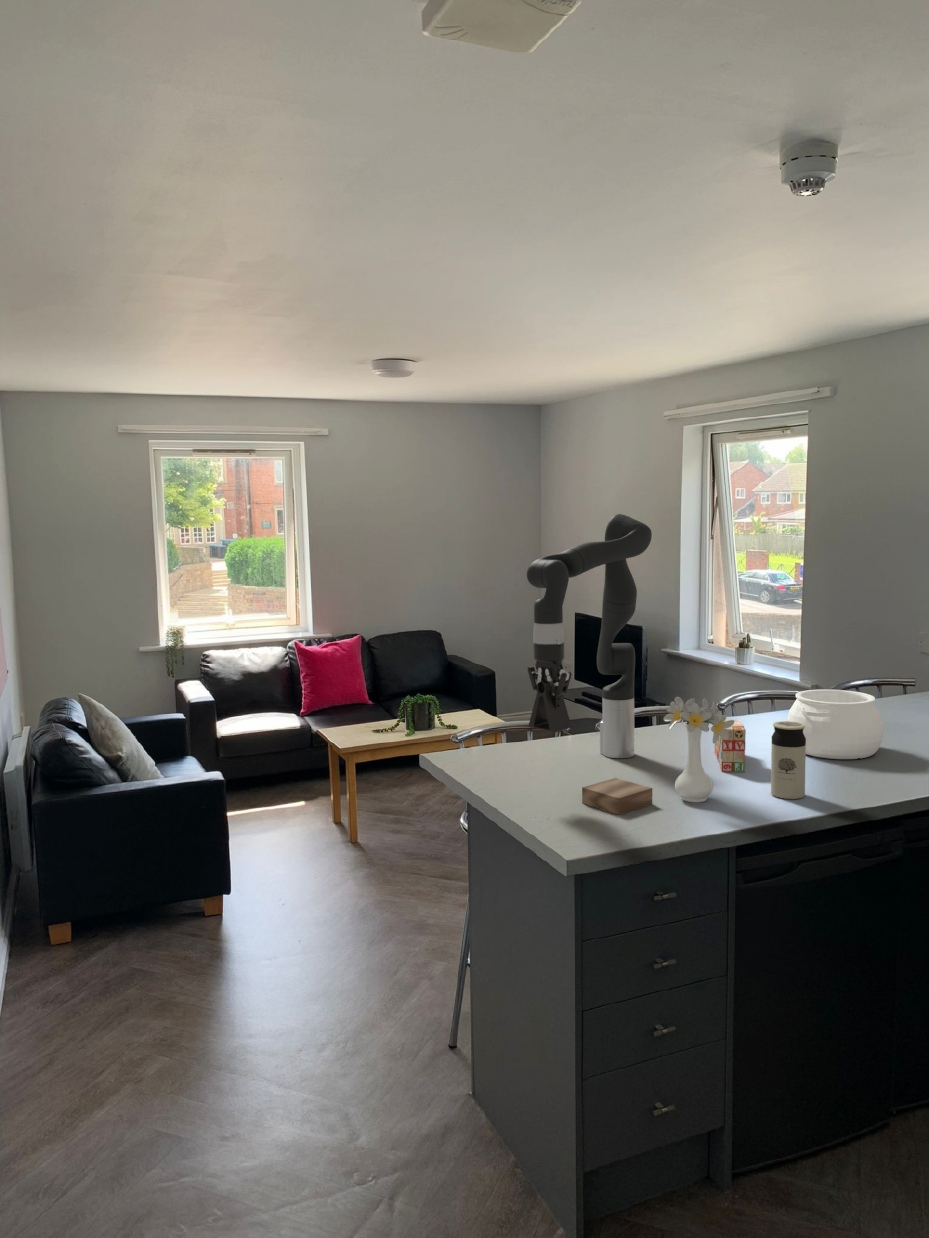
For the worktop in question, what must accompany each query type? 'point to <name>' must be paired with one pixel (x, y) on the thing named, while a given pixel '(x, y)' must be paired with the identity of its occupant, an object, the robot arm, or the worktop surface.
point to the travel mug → (788, 760)
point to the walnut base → (617, 796)
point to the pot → (838, 723)
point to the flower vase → (696, 745)
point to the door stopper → (548, 711)
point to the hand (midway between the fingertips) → (549, 709)
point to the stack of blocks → (732, 748)
